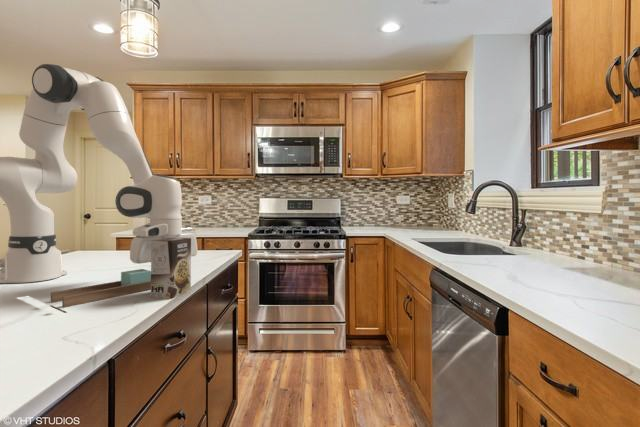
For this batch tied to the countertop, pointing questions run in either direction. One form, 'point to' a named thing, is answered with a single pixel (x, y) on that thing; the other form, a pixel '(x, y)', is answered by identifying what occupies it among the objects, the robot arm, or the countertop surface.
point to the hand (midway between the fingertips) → (166, 274)
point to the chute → (96, 293)
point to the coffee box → (170, 267)
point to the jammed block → (135, 277)
